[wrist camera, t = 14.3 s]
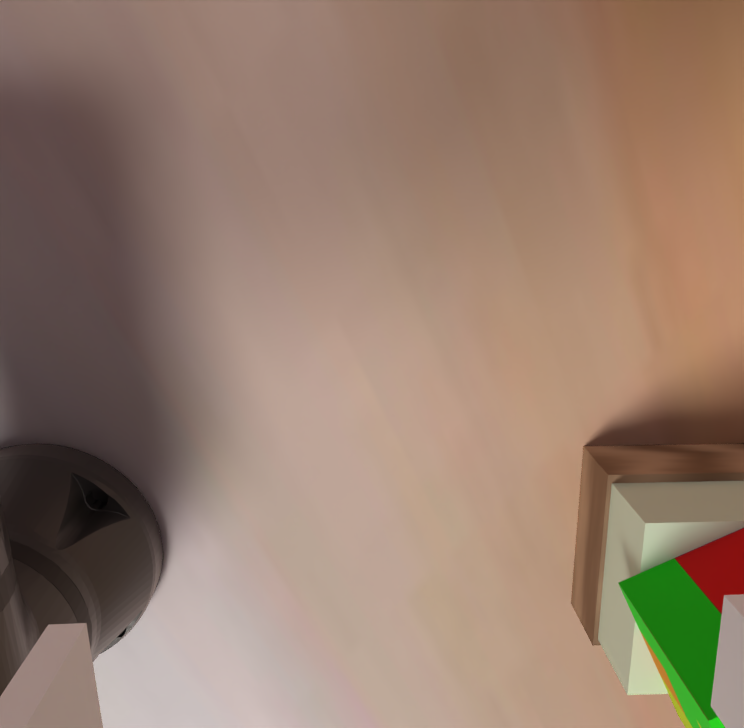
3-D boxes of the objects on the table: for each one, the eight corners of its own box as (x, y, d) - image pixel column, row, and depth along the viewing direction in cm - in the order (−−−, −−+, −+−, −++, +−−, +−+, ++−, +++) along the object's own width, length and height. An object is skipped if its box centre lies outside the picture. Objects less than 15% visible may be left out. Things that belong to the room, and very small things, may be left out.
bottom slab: (569, 600, 50) (592, 645, 45) (581, 444, 47) (608, 474, 42) (733, 596, 50) (774, 640, 46) (756, 441, 47) (803, 471, 42)
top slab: (598, 639, 45) (627, 695, 40) (611, 483, 42) (645, 523, 37) (765, 634, 45) (814, 689, 41) (790, 479, 43) (846, 518, 38)
